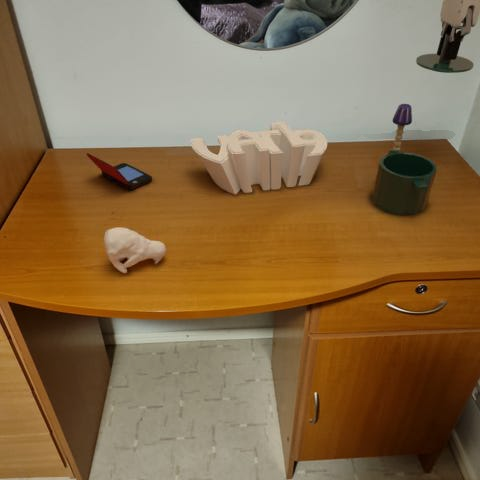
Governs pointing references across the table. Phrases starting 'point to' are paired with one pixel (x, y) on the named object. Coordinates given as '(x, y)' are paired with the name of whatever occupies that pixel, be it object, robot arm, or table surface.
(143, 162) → the table surface
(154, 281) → the table surface
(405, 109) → the toy lamp
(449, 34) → the lid
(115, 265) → the beige lumpy figure
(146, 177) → the handheld console
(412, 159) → the pot
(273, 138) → the wavy white extrusion
